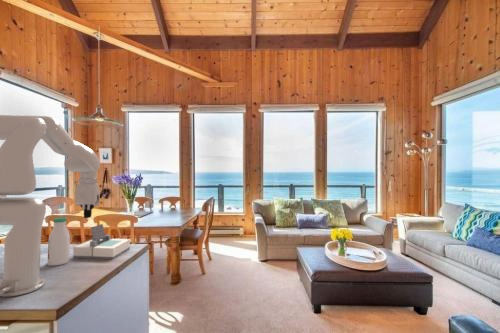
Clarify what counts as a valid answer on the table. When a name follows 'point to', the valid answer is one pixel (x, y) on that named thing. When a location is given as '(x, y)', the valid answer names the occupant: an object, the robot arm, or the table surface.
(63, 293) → the table surface
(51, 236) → the milk bottle
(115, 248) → the white boxy piece
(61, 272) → the table surface
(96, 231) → the lock flap
